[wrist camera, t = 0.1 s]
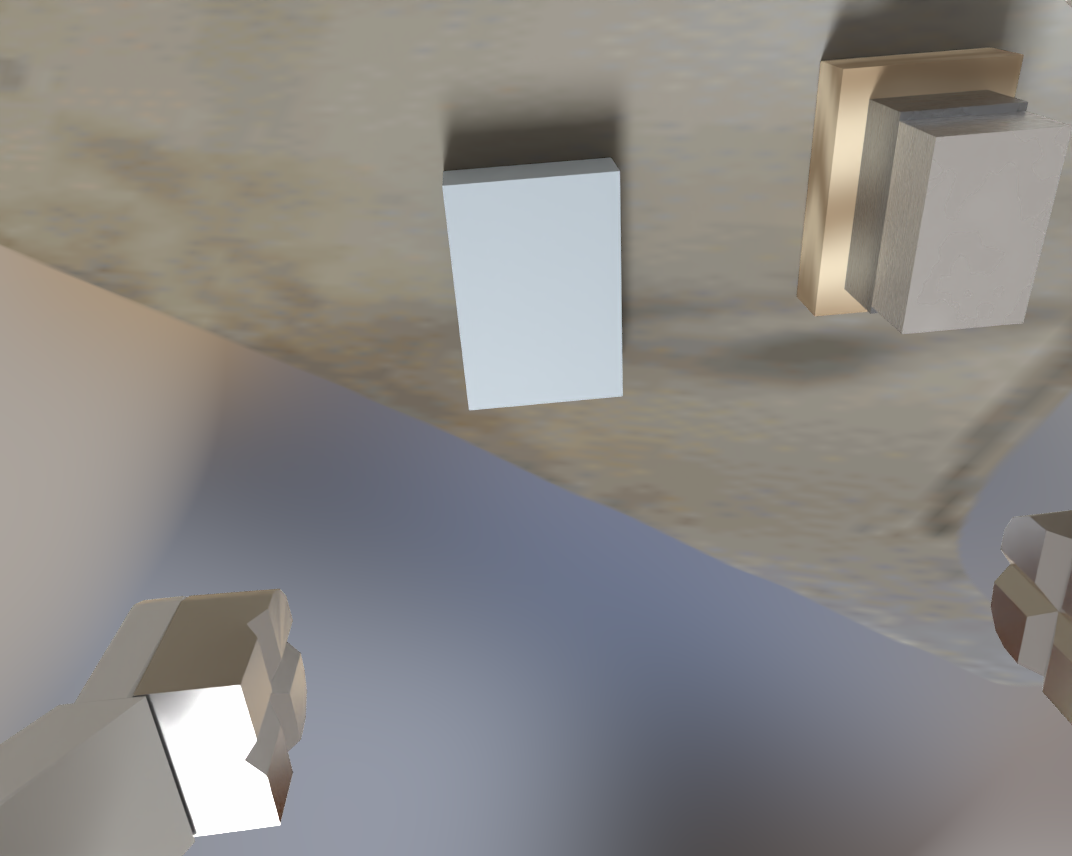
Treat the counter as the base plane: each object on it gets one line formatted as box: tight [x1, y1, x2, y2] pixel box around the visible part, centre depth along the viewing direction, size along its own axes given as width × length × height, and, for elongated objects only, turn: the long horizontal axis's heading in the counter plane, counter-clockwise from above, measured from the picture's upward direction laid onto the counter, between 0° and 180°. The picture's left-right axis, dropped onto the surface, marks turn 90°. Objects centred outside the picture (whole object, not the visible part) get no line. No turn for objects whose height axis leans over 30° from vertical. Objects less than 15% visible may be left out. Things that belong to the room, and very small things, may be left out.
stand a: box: [797, 47, 1024, 316], centre depth 46 cm, size 13×9×3 cm
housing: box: [844, 90, 1072, 334], centre depth 41 cm, size 10×6×7 cm, turn 3°
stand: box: [442, 157, 623, 410], centre depth 47 cm, size 13×9×3 cm
